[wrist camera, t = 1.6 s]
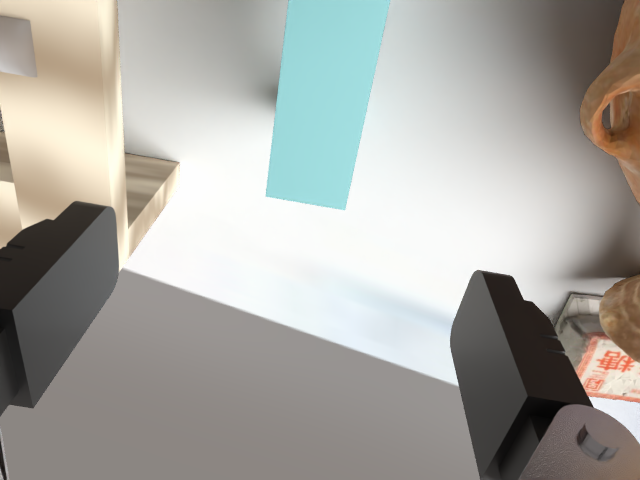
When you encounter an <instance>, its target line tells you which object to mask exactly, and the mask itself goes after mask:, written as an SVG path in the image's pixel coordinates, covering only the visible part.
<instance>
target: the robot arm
mask: <svg viewBox="0 0 640 480" xmlns="http://www.w3.org/2000/svg"><path fill="white" fill-rule="evenodd" d="M118 274H119V254H118V239H117V223H116V214H115V210H114V209H113V208H112V207H110V206H105V205H99V204H93V203H87V202H81V201H74V202H73V203H71V204H70V205H69V206H68V207H67V208H66V209H65V210H64V211H63V212H62V213H61V214H60V215H59V216H58V217H56V218H55V219H54V220H51V219H45V220H42V221H40V222H38V223H36V224H34V225H31V226H29V227H27V228H25V229H23V230H21V231H20V232H19V233H18V234H17V235H16V236H15V237H13V238H12V239H11V240H10V241H9V242H8V243H7V245H6V247H2V248H1V249H0V416H1V415H2V413H3V412H4V411H5V409H6V408H7V406H8V405H15V406H22V407H28V408H34V406H35V405H36V404H37V402H38V401H39V399H40V398H41V396H42V395H43V393H44V392H45V390H46V389H47V387H48V386H49V385H50V383H51V382H52V380H53V379H54V377H55V376H56V374H57V373H58V371H59V370H60V368H61V367H62V365H63V364H64V362H65V361H66V360H67V358H68V357H69V355H70V354H71V352H72V351H73V349H74V348H75V346H76V345H77V343H78V342H79V341H80V339H81V338H82V336H83V335H84V333H85V332H86V330H87V329H88V327H89V326H90V324H91V323H92V321H93V320H94V319H95V317H96V315H97V314H98V313H99V311H100V310H101V308H102V307H103V305H104V304H105V302H106V300H107V299H108V298H109V296H110V295H111V293H112V292H113V290H114V288H115V285H116V282H117V278H118ZM450 347H451V353H452V357H453V361H454V366H455V370H456V375H457V379H458V383H459V388H460V392H461V396H462V401H463V405H464V410H465V414H466V419H467V423H468V427H469V432H470V436H471V440H472V445H473V449H474V454H475V458H476V463H477V467H478V471H479V476H480V480H640V444H639V443H638V441H637V440H636V438H635V437H634V436H633V435H632V434H631V432H630V431H629V430H628V429H627V428H626V427H625V426H623V425H622V424H621V423H620V422H618V421H617V420H616V419H614V418H613V417H611V416H610V415H608V414H606V413H604V412H602V411H600V410H598V409H596V408H594V407H593V405H592V403H591V401H590V399H589V397H588V395H587V393H586V391H585V389H584V387H583V385H582V383H581V381H580V379H579V377H578V375H577V373H576V371H575V369H574V367H573V365H572V363H571V361H570V359H569V357H568V356H566V355H565V352H566V351H565V349H564V347H563V345H562V343H561V341H560V340H558V335H557V333H556V331H555V330H554V328H553V326H552V324H551V322H550V320H549V318H548V317H547V316H546V315H545V314H544V313H543V312H542V311H541V310H540V309H539V308H538V307H537V306H536V305H535V304H534V303H533V302H531V301H525V300H524V299H523V297H522V295H521V293H520V291H519V288H518V286H517V284H516V282H515V280H514V278H513V277H512V276H510V275H505V274H499V273H493V272H487V271H481V270H477V271H475V272H474V273H473V275H472V277H471V279H470V281H469V284H468V286H467V289H466V291H465V294H464V296H463V299H462V301H461V304H460V307H459V309H458V312H457V314H456V317H455V319H454V322H453V325H452V329H451V336H450ZM0 480H9V475H8V469H7V463H6V457H5V452H4V446H3V439H2V433H1V427H0Z"/></svg>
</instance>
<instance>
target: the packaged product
mask: <svg viewBox="0 0 640 480" xmlns="http://www.w3.org/2000/svg"><path fill="white" fill-rule="evenodd" d="M602 298H603V297H599V296H591V295H579V294H571V295H570V297H569V299H568V301H567V303H566V305H565V307H564V309H563V311H562V313H561V315H560V318H559V320H558V322H557V324H556V326H555V328H554V330H555V331H556V333H557V335H558V340H560V341H561V343H562V345H563V347H564V349H565V351H566V352H565V355H566V356H568V357H569V359H570V361H571V363H572V365H573V367H574V369H575V371H576V373H577V375H578V377H579V379H580V381H581V383H582V385H583V387H584V389H585V391H586V393H587V395H588V396H590V397H600V398H608V399H613V400H625V401H630V402H638V403H640V363H638V362H636V361H634V360H633V359H632V358H630V357H629V356H628V355H627V354H626V353H625V352H624V351H623V350H622V349H621V348H619V347H618V346H617V345H616V344H614V343H613V342H612V340H611V339H610V338H609V337H608V336H607V335H606V334H605V332H604V330H603V328H602V327H601V324H600V318H599V306H600V302H601V300H602Z"/></svg>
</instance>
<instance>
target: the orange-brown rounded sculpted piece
mask: <svg viewBox="0 0 640 480" xmlns="http://www.w3.org/2000/svg"><path fill="white" fill-rule="evenodd" d="M609 103H610V123H611V128H610V129H606V128H605V127H604V126H603V123H602V113H603V110H604V109H605V108H606V106H607V105H608V104H609ZM580 123H581V126H582V129H583V131H584V134H585V135H586V136H587V137H588V138H589V139H590V140H591V141H592V143H593V144H594V145H596V146H597V147H599V148H600V149H602V150H603V151H605V152H606V153H608V154H609V155H613V156H614V157H615V158H617V159H618V162H619V165H620V167H621V169H622V171H623V173H624V175H625V177H626V180H627V182H628V184H629V186H630V188H631V190H632V192H633V194H634V196H635V198H636V200H637V201H638V203H639V204H640V0H625V1H624V3H623V6H622V8H621V13H620V17H619V22H618V26H617V29H616V32H615V35H614V42H613V51H612V56H611V59H610V64H609V65H608V66H607V67H606V68H605V69H604V70H603V71H602V73H601V74H600V75H599V76H598V77H597V78H596V79H595V80H594V81H593V82H592V83H591V85H590V86H589V88H588V89H587V91H586V94H585V96H584V99H583V101H582V104H581V107H580ZM599 318H600V324H601V327H602V328H603V330H604V332H605V334H606V335H607V336H608V337H609V338H610V339H611V340H612V342H613V343H614V344H616V345H617V346H618V347H619V348H621V349H622V350H623V351H624V352H625V353H626V354H627V355H628V356H629V357H630V358H632V359H633V360H634V361H636V362H638V363H640V275H636V276H632V277H629V278H626V279H623V280H621V281H619V282H617V283H615V284H614V285H613V287H611V288H610V289H609V290H607V291H606V292H605V294H604V296H603V298H602V300H601V302H600V306H599Z"/></svg>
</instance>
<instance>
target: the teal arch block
mask: <svg viewBox="0 0 640 480" xmlns="http://www.w3.org/2000/svg"><path fill="white" fill-rule="evenodd" d="M389 4H390V0H289V1H288V9H287V18H286V27H285V35H284V44H283V52H282V61H281V69H280V78H279V86H278V95H277V103H276V112H275V120H274V129H273V137H272V146H271V154H270V163H269V171H268V180H267V188H266V197H272V198H277V199H283V200H289V201H295V202H300V203H306V204H312V205H318V206H323V207H329V208H335V209H341V210H345V208H346V203H347V199H348V194H349V189H350V185H351V180H352V176H353V171H354V166H355V162H356V157H357V152H358V148H359V143H360V138H361V134H362V129H363V124H364V120H365V115H366V110H367V106H368V101H369V97H370V92H371V87H372V83H373V78H374V73H375V69H376V64H377V59H378V55H379V50H380V45H381V41H382V36H383V32H384V27H385V22H386V18H387V13H388V8H389Z"/></svg>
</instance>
